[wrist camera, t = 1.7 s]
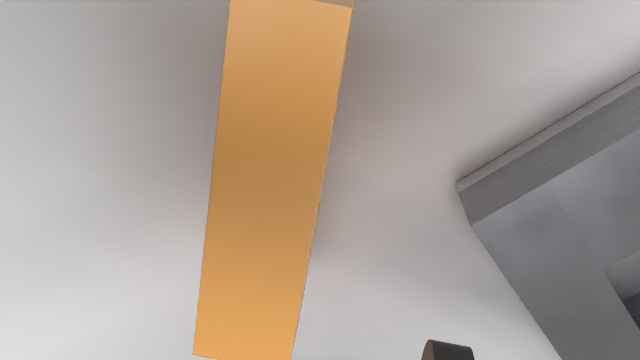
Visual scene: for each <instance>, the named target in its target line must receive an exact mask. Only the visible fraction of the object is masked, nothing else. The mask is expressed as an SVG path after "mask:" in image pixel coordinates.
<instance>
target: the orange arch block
mask: <svg viewBox="0 0 640 360" xmlns="http://www.w3.org/2000/svg"><path fill="white" fill-rule="evenodd" d="M355 1H356V0H230V8H229V18H228V27H227V36H226V46H225V55H224V65H223V74H222V83H221V93H220V102H219V112H218V121H217V130H216V140H215V149H214V158H213V168H212V177H211V187H210V196H209V205H208V215H207V224H206V233H205V243H204V252H203V262H202V271H201V280H200V290H199V299H198V308H197V318H196V327H195V337H194V346H193V355H196V356H201V357H206V358H212V359H217V360H291V356H292V351H293V347H294V342H295V337H296V332H297V327H298V323H299V317H300V312H301V306H302V301H303V295H304V289H305V284H306V278H307V272H308V267H309V261H310V255H311V250H312V244H313V238H314V233H315V227H316V222H317V216H318V210H319V205H320V199H321V193H322V188H323V182H324V176H325V171H326V165H327V159H328V154H329V148H330V143H331V137H332V131H333V126H334V120H335V114H336V109H337V103H338V97H339V92H340V86H341V80H342V75H343V69H344V63H345V58H346V52H347V47H348V41H349V35H350V30H351V24H352V18H353V13H354V7H355Z"/></svg>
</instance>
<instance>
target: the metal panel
mask: <svg viewBox="0 0 640 360" xmlns="http://www.w3.org/2000/svg"><path fill="white" fill-rule="evenodd" d="M455 184H456V187H457V189H458V192H459V195H460V198H461V201H462V203H463V206H464V209H465V212H466V215H467V217H468V220H469V223H470V226H471V227H472V229H473V230H474V232H475V233H476V235H477V236H478V238H479V239H480V240H481V242H482V243H483V245H484V246H485V248H486V249H487V251H488V252H489V254H490V255H491V256H492V258H493V259H494V261H495V262H496V264H497V265H498V267H499V268H500V270H501V271H502V272H503V274H504V275H505V277H506V278H507V280H508V281H509V283H510V284H511V286H512V287H513V288H514V290H515V291H516V293H517V294H518V296H519V297H520V299H521V300H522V302H523V303H524V304H525V306H526V307H527V309H528V310H529V312H530V313H531V315H532V316H533V318H534V319H535V320H536V322H537V323H538V325H539V326H540V328H541V329H542V331H543V332H544V334H545V335H546V336H547V338H548V339H549V341H550V342H551V344H552V345H553V347H554V348H555V350H556V351H557V352H558V354H559V355H560V357H561V358H562V360H640V72H639V73H637V74H636V75H634V76H632V77H631V78H629V79H627V80H626V81H624V82H622V83H621V84H619V85H617V86H616V87H614V88H612V89H611V90H609V91H608V92H606V93H604V94H603V95H601V96H599V97H598V98H596V99H594V100H593V101H591V102H589V103H588V104H586V105H584V106H583V107H581V108H579V109H578V110H576V111H574V112H573V113H571V114H569V115H568V116H566V117H564V118H563V119H561V120H559V121H558V122H556V123H554V124H553V125H551V126H549V127H548V128H546V129H544V130H543V131H541V132H539V133H538V134H536V135H535V136H533V137H531V138H530V139H528V140H526V141H525V142H523V143H521V144H520V145H518V146H516V147H515V148H513V149H511V150H510V151H508V152H506V153H505V154H503V155H501V156H500V157H498V158H496V159H495V160H493V161H491V162H490V163H488V164H486V165H485V166H483V167H481V168H480V169H478V170H476V171H475V172H473V173H471V174H470V175H468V176H466V177H465V178H463V179H462V180H460V181H458V182H457V183H455Z"/></svg>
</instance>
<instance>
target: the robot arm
mask: <svg viewBox="0 0 640 360" xmlns="http://www.w3.org/2000/svg"><path fill="white" fill-rule="evenodd" d="M421 360H474V356H473V352H472V349H471V348H470V347H466V346H461V345H456V344H451V343H445V342H440V341H435V340H428V341H427V343H426V345H425V348H424V351H423V355H422V359H421Z"/></svg>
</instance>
